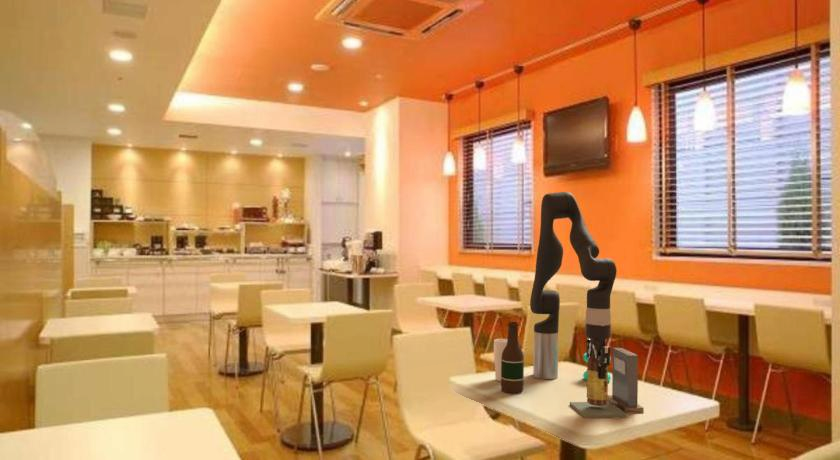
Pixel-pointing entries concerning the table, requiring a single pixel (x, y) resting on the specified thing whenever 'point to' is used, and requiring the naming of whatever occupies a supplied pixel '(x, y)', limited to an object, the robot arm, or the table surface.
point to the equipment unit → (625, 381)
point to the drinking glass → (498, 356)
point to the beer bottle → (512, 363)
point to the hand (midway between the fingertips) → (597, 375)
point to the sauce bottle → (596, 382)
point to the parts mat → (597, 410)
